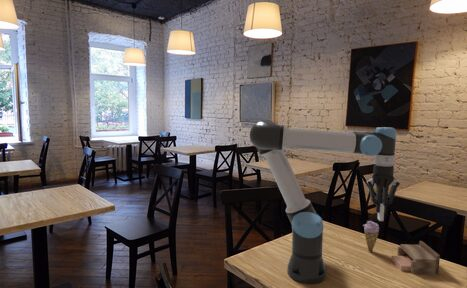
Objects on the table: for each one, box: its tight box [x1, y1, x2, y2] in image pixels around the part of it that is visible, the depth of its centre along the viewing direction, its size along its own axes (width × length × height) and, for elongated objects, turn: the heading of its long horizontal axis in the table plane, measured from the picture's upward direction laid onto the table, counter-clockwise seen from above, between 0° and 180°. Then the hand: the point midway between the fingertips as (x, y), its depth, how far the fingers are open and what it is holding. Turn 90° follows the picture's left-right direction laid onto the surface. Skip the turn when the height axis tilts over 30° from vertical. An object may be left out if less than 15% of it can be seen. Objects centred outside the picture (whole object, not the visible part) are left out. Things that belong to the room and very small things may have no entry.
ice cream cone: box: [362, 220, 380, 253], centre depth 141 cm, size 7×6×15 cm
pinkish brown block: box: [390, 255, 413, 272], centre depth 128 cm, size 12×9×2 cm
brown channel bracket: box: [396, 240, 441, 276], centre depth 128 cm, size 10×13×8 cm
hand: (380, 219), depth 129 cm, fingers closed
